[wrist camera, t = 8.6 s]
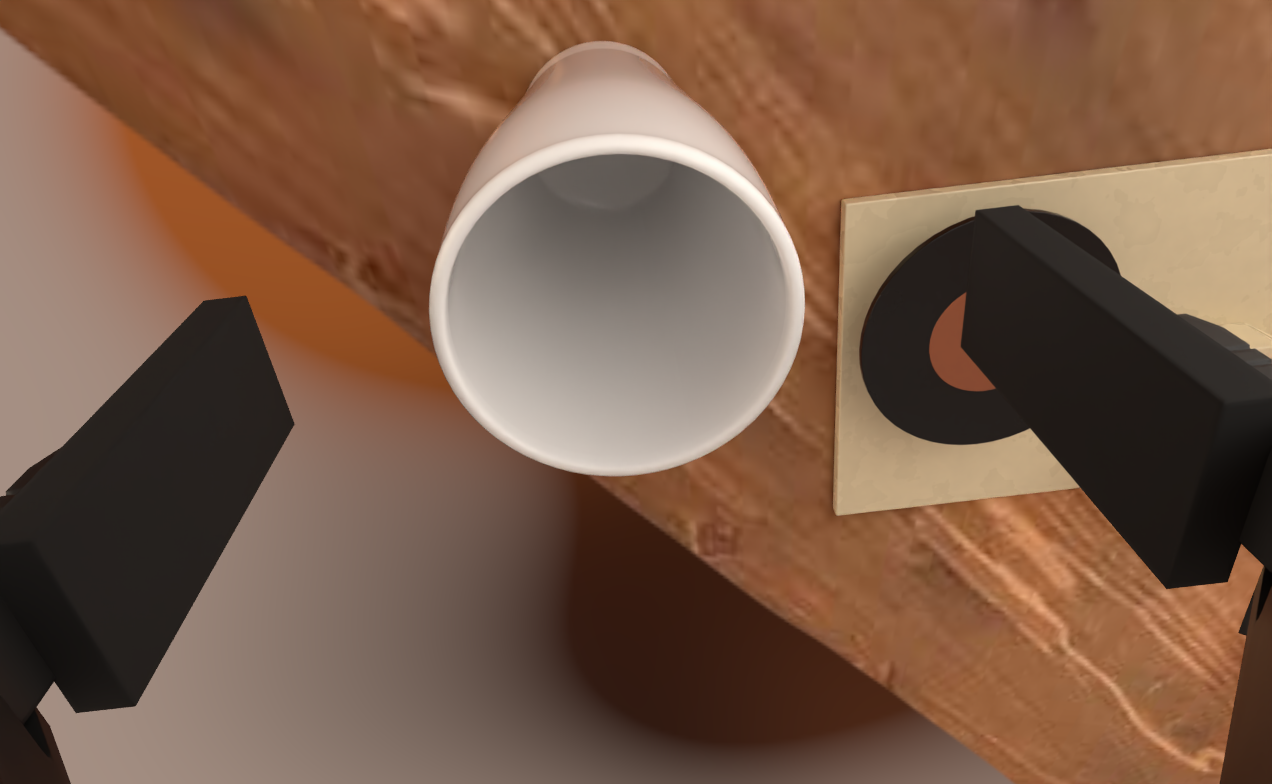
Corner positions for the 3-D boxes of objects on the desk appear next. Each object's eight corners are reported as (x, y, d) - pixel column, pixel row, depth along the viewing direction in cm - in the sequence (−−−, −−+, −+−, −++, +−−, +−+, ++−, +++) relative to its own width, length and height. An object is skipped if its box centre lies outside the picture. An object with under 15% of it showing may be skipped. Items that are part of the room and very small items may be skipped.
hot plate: (840, 198, 29) (862, 223, 27) (1365, 136, 29) (1430, 156, 27) (832, 515, 36) (848, 555, 34) (1248, 468, 36) (1292, 505, 34)
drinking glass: (667, 244, 30) (731, 513, 17) (479, 192, 28) (392, 441, 15) (734, 50, 26) (877, 199, 13) (525, -18, 25) (464, 74, 12)
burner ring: (863, 225, 27) (867, 228, 27) (1145, 192, 27) (1151, 195, 27) (854, 453, 32) (856, 458, 31) (1093, 426, 32) (1097, 430, 31)
